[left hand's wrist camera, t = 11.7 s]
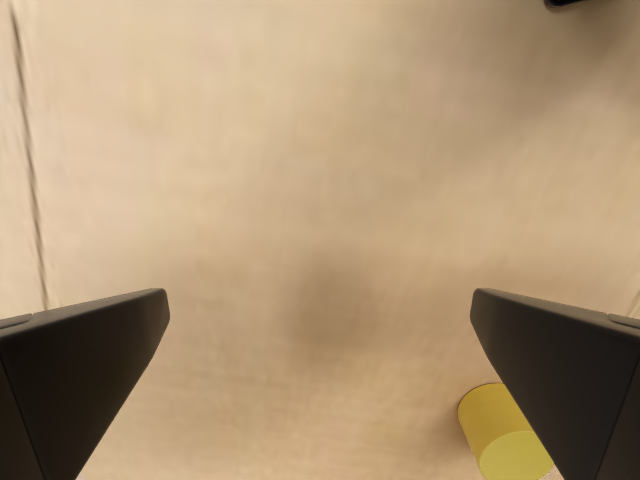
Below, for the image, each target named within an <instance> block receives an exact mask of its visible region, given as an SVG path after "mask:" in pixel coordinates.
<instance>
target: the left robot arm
mask: <svg viewBox="0 0 640 480" xmlns="http://www.w3.org/2000/svg"><path fill="white" fill-rule="evenodd" d="M581 1H585V0H545V3H546V4H547V6H549V7H551V8H556V7H561V6H565V5H569V4H573V3H577V2H581ZM169 320H170V311H169V305H168V299H167V293H166V291H165V290H164V289H162V288H159V289H146V290H141V291H137V292H132V293H127V294H123V295H118V296H113V297H108V298H104V299H99V300H94V301H90V302H85V303H80V304H75V305H71V306H66V307H61V308H57V309H52V310H47V311H42V312H38V313H34V314H33V315H32V314H26V315H21V316H16V317H11V318H7V319H2V320H0V480H76V478H77V476H78V475H79V473H80V472H81V470H82V469H83V467H84V465H85V464H86V462H87V461H88V459H89V457H90V456H91V454H92V453H93V451H94V450H95V448H96V446H97V445H98V443H99V442H100V440H101V438H102V437H103V435H104V434H105V432H106V431H107V429H108V427H109V426H110V424H111V423H112V421H113V420H114V418H115V416H116V415H117V413H118V412H119V410H120V408H121V407H122V405H123V404H124V402H125V401H126V399H127V397H128V396H129V394H130V393H131V391H132V389H133V388H134V386H135V385H136V383H137V382H138V380H139V378H140V377H141V375H142V374H143V372H144V371H145V369H146V367H147V366H148V364H149V362H150V361H151V359H152V357H153V355H154V353H155V351H156V349H157V347H158V345H159V343H160V341H161V338H162V336H163V334H164V332H165V330H166V328H167V325H168V323H169ZM470 320H471V323H472V326H473V328H474V330H475V332H476V334H477V336H478V339H479V341H480V343H481V345H482V347H483V349H484V352H485V354H486V355H487V357H488V359H489V361H490V363H491V364H492V366H493V367H494V369H495V371H496V372H497V374H498V375H499V377H500V378H501V380H502V382H503V383H504V385H505V386H506V388H507V389H508V391H509V393H510V394H511V396H512V397H513V399H514V401H515V402H516V404H517V405H518V407H519V408H520V410H521V412H522V413H523V415H524V416H525V418H526V419H527V421H528V423H529V424H530V426H531V427H532V429H533V431H534V432H535V434H536V435H537V437H538V438H539V440H540V442H541V443H542V445H543V446H544V448H545V450H546V451H547V453H548V454H549V456H550V457H551V459H552V461H553V462H554V464H555V465H556V467H557V469H558V470H559V472H560V473H561V475H562V476H563V478H564V480H640V320H638V319H633V318H629V317H624V316H619V315H614V314H608V315H607V314H606V313H602V312H598V311H593V310H588V309H584V308H579V307H574V306H569V305H565V304H560V303H555V302H551V301H546V300H541V299H536V298H532V297H527V296H522V295H517V294H513V293H508V292H503V291H499V290H494V289H482V288H478V289H476V290H475V291H474V293H473V299H472V305H471V311H470Z"/></svg>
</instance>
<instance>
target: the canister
mask: <svg viewBox="0 0 640 480" xmlns="http://www.w3.org/2000/svg"><path fill="white" fill-rule="evenodd" d="M458 419H459V422H460V424H461V427H462V429H463V431H464V434H465V436H466V439H467V441H468V443H469V446H470V448H471V450H472V453H473V455H474V458H475V460H476V462H477V465H478V467H479V469H480V472H481V473H482V475H483V476H484V477H485V478H486V479H487V480H539V479H540V478H542V477H543V476H544V475H546V474H547V473H548V472H549V471H550V470H551V468H552V467H553V465H554V462H553V461H552V459H551V457H550V456H549V454H548V453H547V451H546V450H545V448H544V446H543V445H542V443H541V442H540V440H539V438H538V437H537V435H536V434H535V432H534V431H533V429H532V427H531V426H530V424H529V423H528V421H527V419H526V418H525V416H524V415H523V413H522V412H521V410H520V408H519V407H518V405H517V404H516V402H515V401H514V399H513V397H512V396H511V394H510V393H509V391H508V389H507V388H506V386H505V385H504V384H501V383H491V384H486V385H482V386H479V387H477V388H475V389H473V390H472V391H470V392H469V393H468V394H466V395H465V397H464V398H463V399H462V400H461V402H460V404H459V407H458Z"/></svg>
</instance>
